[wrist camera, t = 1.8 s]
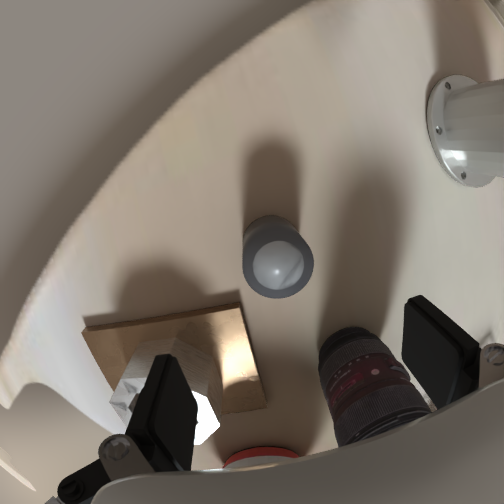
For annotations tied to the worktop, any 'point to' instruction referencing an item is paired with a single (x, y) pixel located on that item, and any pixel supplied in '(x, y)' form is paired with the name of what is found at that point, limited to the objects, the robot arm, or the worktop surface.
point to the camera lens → (366, 386)
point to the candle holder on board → (183, 361)
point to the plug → (276, 258)
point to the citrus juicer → (259, 456)
